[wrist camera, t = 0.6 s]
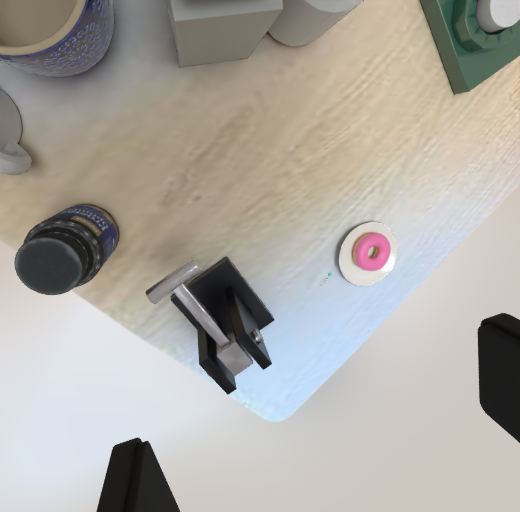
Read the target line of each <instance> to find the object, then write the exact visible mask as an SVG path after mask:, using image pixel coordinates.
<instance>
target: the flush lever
mask: <svg viewBox="0 0 520 512" xmlns="http://www.w3.org/2000/svg"><path fill="white" fill-rule="evenodd" d="M200 272H202V269H201V267H200V265H199V264H198V262H197V261H196V260H195V259H194V258H191V259H190V260H189V261H187V262H186V263H184V264H183V265H182V266H180V267H179V268H177V269H176V270H175V271H173V272H172V273H170V274H169V275H168V276H166V277H165V278H163V279H162V280H161V281H159V282H158V283H156V284H155V285H153V286H152V287H151V288H149V289H148V290H146V295H147V297H148V299H149V300H150V301H151V302H152V303H153V304H157V303H158V302H160V301H161V300H162V299H164V298H165V297H167V296H168V295H169V294H171V293H172V292H174V293H175V294H176V296H177V297H178V298H179V299H180V300H181V302H182V303H183V304H184V305H185V306H186V307H187V309H188V310H189V311H190V312H191V313H192V315H193V316H194V317H195V318H196V319H197V321H198V322H199V323H200V324H201V325H202V326H203V328H204V329H205V330H206V331H207V332H208V334H209V335H210V336H211V337H212V338H213V339H214V341H215V342H216V356H217V357H218V358H219V360H220V361H221V362H222V363H223V364H224V365H225V367H226V368H227V369H228V370H229V371H230V372H231V373H232V375H233V376H236V375H237V374H239V373H240V372H241V371H243V370H244V369H246V368H247V367H249V366H250V365H251V364H253V360H252V356H251V355H250V354H249V353H248V351H247V350H246V349H245V348H244V347H243V345H242V344H241V343H240V342H239V341H238V340H237V338H236V334H235V331H234V330H233V331H232V332H231V333H229V334H227V333H226V332H225V331H224V329H223V328H222V327H221V326H220V325H219V323H218V322H217V321H216V320H215V318H214V317H213V316H212V315H211V314H210V312H209V311H208V310H207V309H206V308H205V306H204V305H203V304H202V303H201V301H200V300H199V299H198V298H197V297H196V295H195V294H194V293H193V292H192V291H191V289H190V288H189V287H188V286H187V284H186V282H188V281H189V280H191V279H192V278H193V277H195V276H196V275H198V274H199V273H200Z"/></svg>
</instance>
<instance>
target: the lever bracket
mask: <svg viewBox="0 0 520 512" xmlns="http://www.w3.org/2000/svg"><path fill="white" fill-rule="evenodd" d="M187 286H188V287H189V288H190V289H191V291H192V292H193V293H194V294H195V295H196V297H197V298H198V299H199V300H200V301H201V303H202V304H203V305H204V306H205V308H206V309H207V310H208V311H209V312H210V314H211V315H212V316H213V317H214V318H215V320H216V321H217V322H218V323H219V325H220V326H221V327H222V328H223V329H224V331H225V332H226V333H227V334H229V333H231V332H232V331H233V330H234V331H235V334H236V338H237V340H238V341H239V342H240V343H241V344H242V345H243V347H244V348H245V349H246V350H247V351H248V353H249V354H250V355H251V356H252V357H253V358H254V360H255V361H256V362H257V363H258V364H259V365H260V367H261V368H262V369H263V370H264V369H265V368H267V367H268V366H270V365H271V364H272V363H271V360H270V357H269V355H268V352H267V350H266V347H265V344H264V342H263V341H264V339H263V337H262V335H261V334H260V330H261V329H262V328H264V327H265V326H267V325H268V324H269V323H271V322H272V321H274V318H273V316H272V315H271V313H270V312H269V311H268V309H267V308H266V307H265V306H264V304H263V303H262V302H261V300H260V299H259V298H258V296H257V295H256V294H255V292H254V291H253V290H252V289H251V287H250V286H249V285H248V283H247V282H246V281H245V279H244V278H243V277H242V276H241V274H240V273H239V272H238V270H237V269H236V268H235V266H234V265H233V264H232V262H231V261H230V260H229V259H228V257H225V258H224V259H222V260H221V261H220V262H218V263H217V264H215V265H214V266H213V267H211V268H210V269H208V270H207V271H206V272H204V273H203V274H201V275H200V276H199V277H197V278H196V279H194V280H193V281H191V282H190V283H189V284H187ZM171 301H172V302H173V303H174V304H175V305H176V306H177V307H178V309H179V310H180V311H181V312H182V313H183V314H184V315H185V316H186V317H187V319H188V320H189V321H190V322H191V323H192V324H193V325H194V326H195V327H196V329H197V330H198V349H199V365H200V366H201V367H202V368H203V369H204V370H205V371H206V372H207V374H208V375H209V376H210V377H212V378H213V379H214V380H215V382H216V383H217V384H218V385H219V386H220V387H221V388H222V389H223V390H224V391H225V392H226V393H227V394H230V393H231V392H233V391H234V390H236V383H235V378H234V376H233V375H232V373H231V372H230V371H229V370H228V369H227V368H226V367H225V365H224V364H223V363H222V362H221V361H220V360H219V358H218V357H217V356H216V342H215V341H214V339H213V338H212V337H211V336H210V335H209V334H208V332H207V331H206V330H205V329H204V328H203V326H202V325H201V324H200V323H199V322H198V321H197V319H196V318H195V317H194V316H193V315H192V313H191V312H190V311H189V310H188V309H187V307H186V306H185V305H184V304H183V303H182V302H181V300H180V299H179V298H178V297H177V296H176V294H173V295H172V296H171Z"/></svg>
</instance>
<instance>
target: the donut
mask: <svg viewBox="0 0 520 512" xmlns="http://www.w3.org/2000/svg"><path fill="white" fill-rule="evenodd" d="M397 254H398V244H397V240H396V237H395V235H394V233H393V231H392V230H391V229H390V228H389V227H388V226H386V225H384V224H382V223H379V222H368V223H364V224H362V225H360V226H358V227H356V228H355V229H354V230H353V231H351V232H350V233H349V235H348V236H347V237H346V239H345V240H344V242H343V244H342V247H341V249H340V254H339V265H340V270H341V272H342V274H343V276H344V277H345V279H346V280H348V281H349V282H350V283H352V284H354V285H357V286H370V285H373V284H376V283H378V282H379V281H381V280H382V279H383V278H385V277H386V276H387V275H388V273H389V272H390V271H391V269H392V268H393V266H394V264H395V261H396V258H397ZM329 276H331V273H329ZM326 279H327V278H326ZM325 281H326V280H325ZM323 282H324V281H323ZM320 285H321V284H320Z"/></svg>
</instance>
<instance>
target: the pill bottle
mask: <svg viewBox="0 0 520 512" xmlns="http://www.w3.org/2000/svg"><path fill="white" fill-rule="evenodd" d="M118 240H119V230H118V226H117V224H116V222H115V220H114V219H113V218H112V216H111V215H110V214H109V213H108V212H107V211H105V210H104V209H102V208H100V207H97V206H95V205H90V204H79V205H75V206H72V207H70V208H68V209H66V210H64V211H62V212H60V213H58V214H56V215H54V216H53V217H51V218H49V219H47V220H45V221H43V222H41V223H40V224H38V225H36V226H35V227H34V228H32V229H31V230H30V232H29V233H28V235H27V236H26V238H25V240H24V243H23V245H22V246H21V247H20V248H19V250H18V252H17V254H16V257H15V269H16V273H17V275H18V277H19V278H20V280H21V281H22V282H23V283H24V284H25V285H26V286H27V287H28V288H30V289H32V290H34V291H36V292H38V293H41V294H45V295H58V294H62V293H65V292H68V291H70V290H71V289H73V288H74V287H77V286H81V285H83V284H85V283H87V282H89V281H90V280H91V279H93V278H94V276H95V275H96V274H97V273H98V271H99V270H100V269H101V267H102V266H103V264H104V263H105V262H106V260H107V259H108V258H109V256H110V255H111V253H112V252H113V251H114V250H115V248H116V246H117V243H118Z"/></svg>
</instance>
